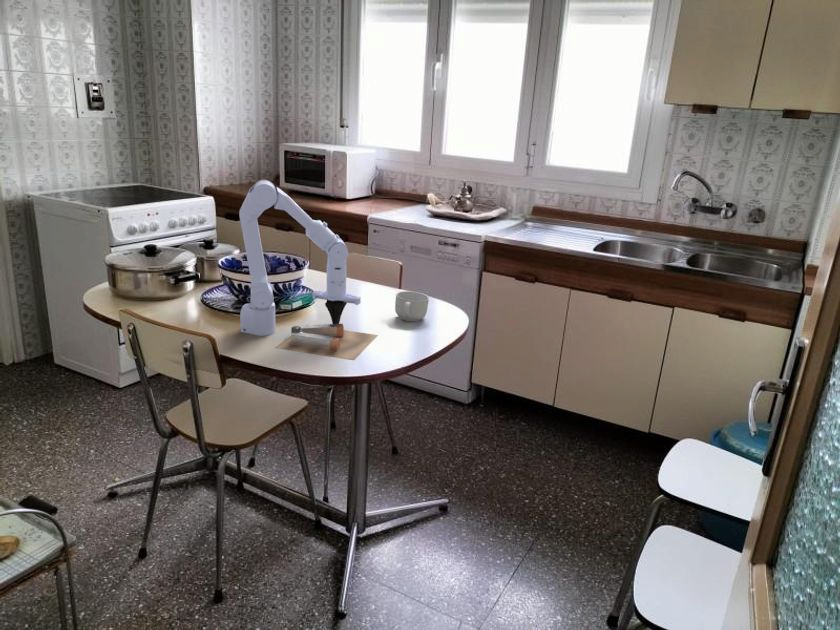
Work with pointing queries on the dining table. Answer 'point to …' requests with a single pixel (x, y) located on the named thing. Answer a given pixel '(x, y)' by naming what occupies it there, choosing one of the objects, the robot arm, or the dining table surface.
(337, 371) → the dining table surface
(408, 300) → the teacup
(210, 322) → the dining table surface
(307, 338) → the tongs fixed half
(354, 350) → the board
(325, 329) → the tong arm
